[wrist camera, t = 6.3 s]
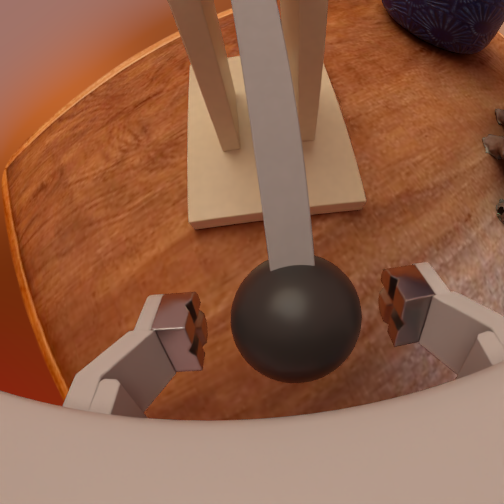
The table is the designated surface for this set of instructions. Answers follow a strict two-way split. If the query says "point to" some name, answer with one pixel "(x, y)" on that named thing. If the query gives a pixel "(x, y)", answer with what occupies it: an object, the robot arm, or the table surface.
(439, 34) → the planter
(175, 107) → the table surface
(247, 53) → the lever
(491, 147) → the rhinoceros figurine
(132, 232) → the table surface
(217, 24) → the bracket
